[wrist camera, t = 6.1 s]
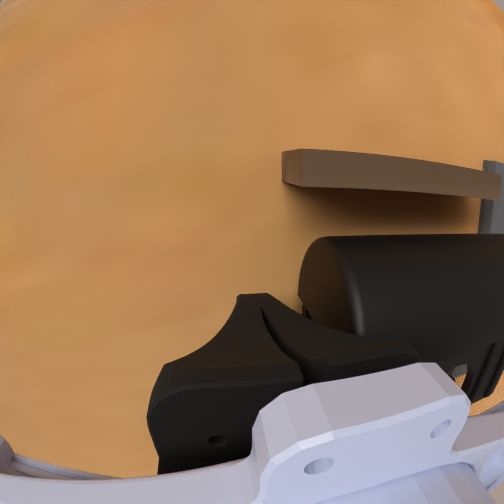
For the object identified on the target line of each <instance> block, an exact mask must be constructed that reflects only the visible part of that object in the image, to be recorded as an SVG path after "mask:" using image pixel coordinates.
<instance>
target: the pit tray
mask: <svg viewBox="0 0 504 504" xmlns="http://www.w3.org/2000/svg"><path fill="white" fill-rule="evenodd" d="M483 171H485V172H489V173H494V174H498V175H502V181H501V196H500V201H498V200H491V199H483V198H482V201H481V212H480V221H479V229H478V234H504V164H503V163H500V162H496V161H487V160H484V168H483ZM448 373H449V374H450V375H451V376H452V377H453V378H455V377H458V376H460V375H463V374H465V373H467V365H459V366H457V367H455V368H453V369H451V370H449V371H448Z"/></svg>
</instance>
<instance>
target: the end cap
mask: <svg viewBox="0 0 504 504" xmlns="http://www.w3.org/2000/svg"><path fill="white" fill-rule="evenodd" d="M298 296H299V297H300V299H301V301H302V302H303V307H302V316H304V317H306V318H308V319H310V320H312V321H314V322H316V323H319V324H321V325H324V326H326V327H329V328H332V329H335V330H338V331H341V332H345V333H349V334H353V335H358V336H363V337H369V338H376V339H391V340H405V341H406V342H407V343H408V344H409V345H410V346H411V347H412V348H413V349H414V350H415V351H416V352H417V353H418V354H419V355H420V356H421V357H422V360H423V362H424V363H436V364H437V365H438V366H439V367H440V368H441V369H442V370H443V371H444V372H445V373H446V372H448V371H449V370H451V369H453V368H455V367H457V366H459V365H467V374H466V377H465V380H464V382H463V385H462V387H461V389H462V391H463V392H464V393H465V394H466V395H467V397H468V398H469V400H470V401H471V405H472V403H474V402H477V401H479V400H481V399H483V398H485V397H488V396H489V395H490V394H492V393H493V391H494V389H495V387H496V385H497V383H498V381H499V379H500V377H501V375H502V372H503V370H504V234H414V235H363V236H327V237H321V238H318V239H316V240H315V241H314V242H313V243H312V244H311V245H310V247H309V248H308V250H307V251H306V254H305V257H304V259H303V262H302V267H301V271H300V277H299V285H298Z"/></svg>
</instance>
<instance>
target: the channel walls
mask: <svg viewBox="0 0 504 504" xmlns="http://www.w3.org/2000/svg"><path fill="white" fill-rule="evenodd" d="M282 181H284V182H287V183H291V184H294V185H298V186H301V187H334V188H360V189H380V190H396V191H410V192H423V193H435V194H446V195H456V196H465V197H474V198H483V199H491V200H498V201H500V196H501V181H502V175H498V174H494V173H489V172H485V171H480V170H475V169H470V168H465V167H460V166H454V165H449V164H443V163H437V162H431V161H424V160H417V159H410V158H403V157H395V156H387V155H378V154H368V153H358V152H346V151H332V150H316V149H297V150H291V151H284V152H282ZM446 374H447V375H448V376H449V377H450V378H451V379H452V380H453V381H454V382H455V379H454V378H453V377H452V376H451V375H450V374H449V373H448V372H446Z"/></svg>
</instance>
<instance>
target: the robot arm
mask: <svg viewBox="0 0 504 504" xmlns="http://www.w3.org/2000/svg"><path fill="white" fill-rule="evenodd" d="M470 407H471V401H470V400H469V398H468V397H467V395H466V394H465V393H464V392H463V391H462V389H461V388H460V387H459V386H458V385H457V384H456V383H455V382H454V381H453V380H452V379H451V378H450V377H449V376H448V375H447V374H446V373H445V372H444V371H443V370H442V369H441V368H440V367H439V366H438V365H437V364H436V363H424V362H423V360H422V357H421V356H420V355H419V354H418V353H417V352H416V351H415V350H414V349H413V348H412V347H411V346H410V345H409V344H408V343H407V342H406V341H405V340H391V339H376V338H369V337H363V336H358V335H353V334H349V333H345V332H341V331H338V330H335V329H332V328H329V327H326V326H324V325H321V324H319V323H316V322H314V321H312V320H310V319H308V318H306V317H304V316H302V315H300V314H299V313H297V312H295V311H294V310H292V309H290V308H289V307H287V306H286V305H284V304H283V303H282V302H280V301H279V300H277V299H276V298H274V297H273V296H271V295H270V294H268V293H257V294H239V295H238V296H237V302H236V305H235V307H234V309H233V311H232V313H231V315H230V317H229V319H228V320H227V322H226V323H225V325H224V326H223V327H222V329H221V330H220V331H219V332H218V333H217V335H216V336H215V337H214V338H213V339H211V340H210V341H209V342H208V343H207V344H205V345H204V346H203V347H201V348H199V349H198V350H196V351H194V352H193V353H191V354H189V355H187V356H185V357H182V358H180V359H177V360H175V361H172V362H170V363H166V364H165V365H164V366H163V368H162V370H161V372H160V374H159V376H158V378H157V381H156V383H155V385H154V388H153V391H152V393H151V397H150V402H149V407H148V412H147V424H148V429H149V432H150V434H151V437H152V440H153V443H154V446H155V448H156V451H157V454H158V456H159V465H158V474H157V475H153V476H144V477H134V478H120V477H113V476H106V475H100V474H94V473H89V472H84V471H79V470H74V469H69V468H65V467H61V466H57V465H53V464H49V463H46V462H42V461H39V460H35V459H32V458H29V457H25V456H22V455H19V454H16V453H14V451H13V450H12V448H11V446H10V445H9V443H8V442H7V441H6V440H5V438H3V437H2V436H1V435H0V504H496V502H495V500H494V499H493V498H492V496H491V495H490V492H491V491H492V490H494V489H495V488H496V487H497V486H499V485H500V484H501V483H502V482H503V481H504V401H502V402H501V403H499V404H497V405H495V406H494V407H492V408H490V409H488V410H486V411H485V412H483V413H481V414H479V415H475V416H468V414H469V411H470Z"/></svg>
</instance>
